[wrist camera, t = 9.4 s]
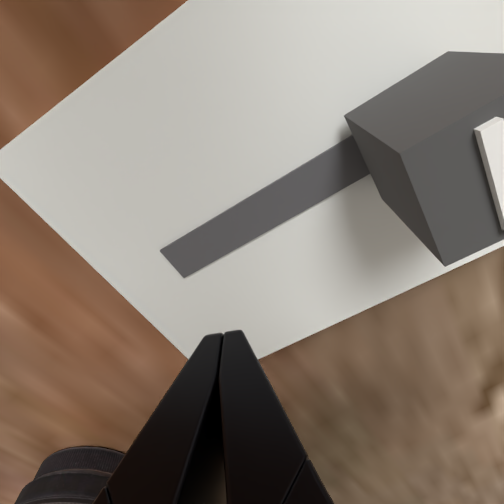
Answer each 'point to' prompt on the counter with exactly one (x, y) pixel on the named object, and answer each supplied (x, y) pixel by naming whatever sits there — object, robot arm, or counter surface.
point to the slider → (440, 151)
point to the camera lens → (71, 476)
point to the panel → (243, 163)
